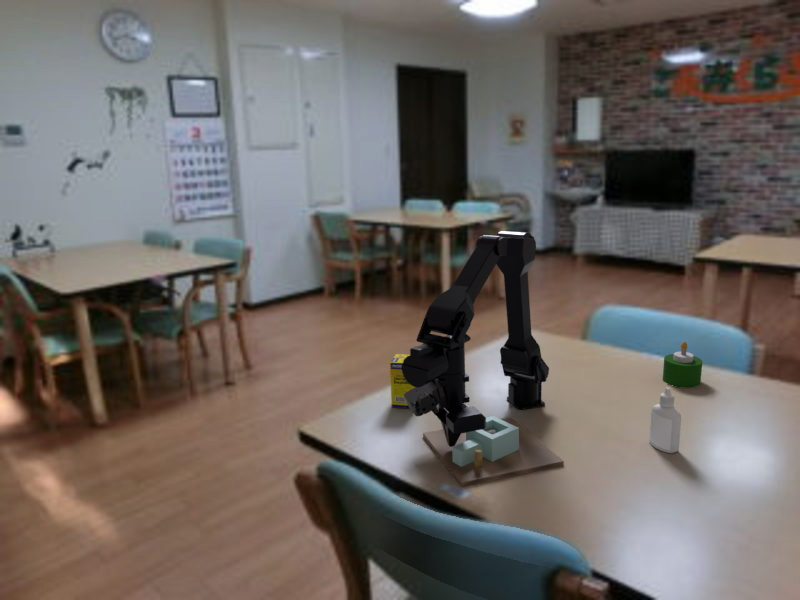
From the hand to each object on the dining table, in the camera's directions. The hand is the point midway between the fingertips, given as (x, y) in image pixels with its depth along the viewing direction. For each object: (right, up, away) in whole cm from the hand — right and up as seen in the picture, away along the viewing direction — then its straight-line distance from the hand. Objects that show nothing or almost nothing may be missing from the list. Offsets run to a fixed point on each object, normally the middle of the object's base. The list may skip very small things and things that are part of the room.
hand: (451, 445), depth 117 cm
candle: (+58, +8, +30) cm, 65 cm away
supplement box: (-8, +4, +24) cm, 25 cm away
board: (+7, -1, +1) cm, 8 cm away
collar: (+6, -1, -2) cm, 6 cm away
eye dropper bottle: (+40, 0, -1) cm, 40 cm away
